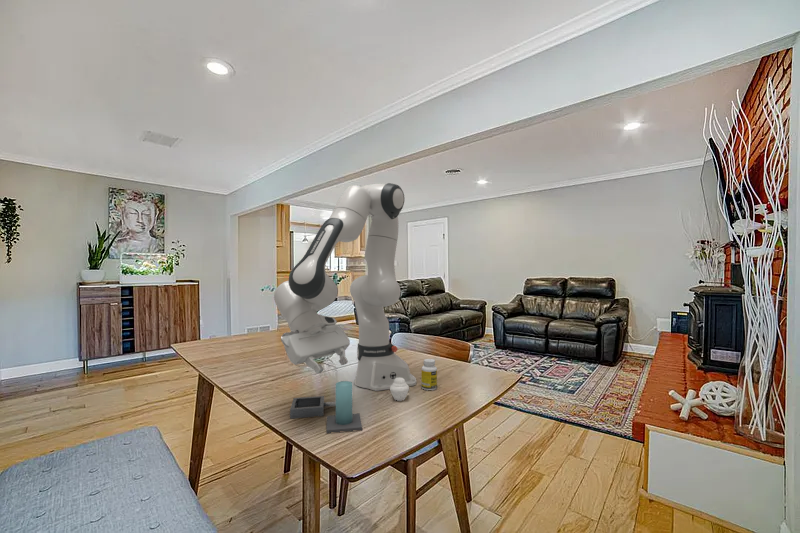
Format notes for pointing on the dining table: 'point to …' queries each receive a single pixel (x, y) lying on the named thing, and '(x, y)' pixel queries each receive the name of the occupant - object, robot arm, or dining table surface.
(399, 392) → the muffin
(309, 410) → the socket
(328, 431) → the rubber mat
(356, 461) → the dining table surface
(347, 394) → the teal peg
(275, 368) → the dining table surface
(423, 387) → the supplement bottle
